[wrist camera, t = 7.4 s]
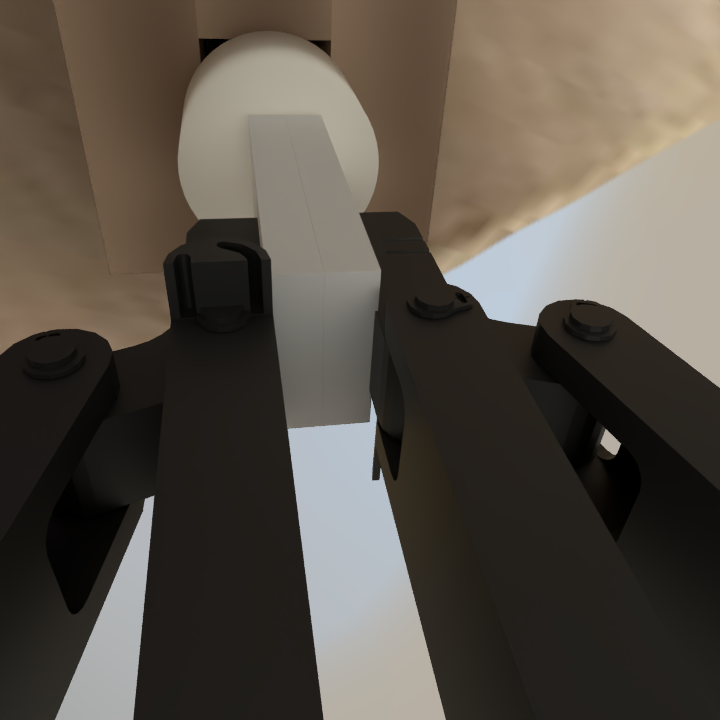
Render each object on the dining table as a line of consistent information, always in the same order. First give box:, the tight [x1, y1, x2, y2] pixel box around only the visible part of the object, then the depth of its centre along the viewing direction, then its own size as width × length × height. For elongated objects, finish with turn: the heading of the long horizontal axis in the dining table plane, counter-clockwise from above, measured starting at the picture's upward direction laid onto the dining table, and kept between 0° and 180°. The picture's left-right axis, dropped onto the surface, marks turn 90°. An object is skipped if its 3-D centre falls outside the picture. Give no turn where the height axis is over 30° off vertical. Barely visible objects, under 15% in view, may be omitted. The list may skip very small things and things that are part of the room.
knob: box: [178, 31, 379, 220], centre depth 18 cm, size 4×4×9 cm
